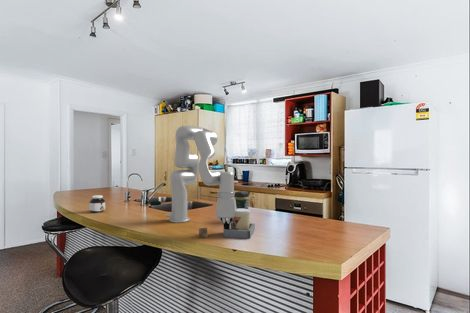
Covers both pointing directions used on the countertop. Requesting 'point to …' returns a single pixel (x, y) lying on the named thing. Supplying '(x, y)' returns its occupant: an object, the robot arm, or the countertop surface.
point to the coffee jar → (241, 199)
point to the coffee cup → (241, 219)
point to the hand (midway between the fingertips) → (226, 230)
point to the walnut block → (202, 232)
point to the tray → (239, 232)
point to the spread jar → (97, 204)
